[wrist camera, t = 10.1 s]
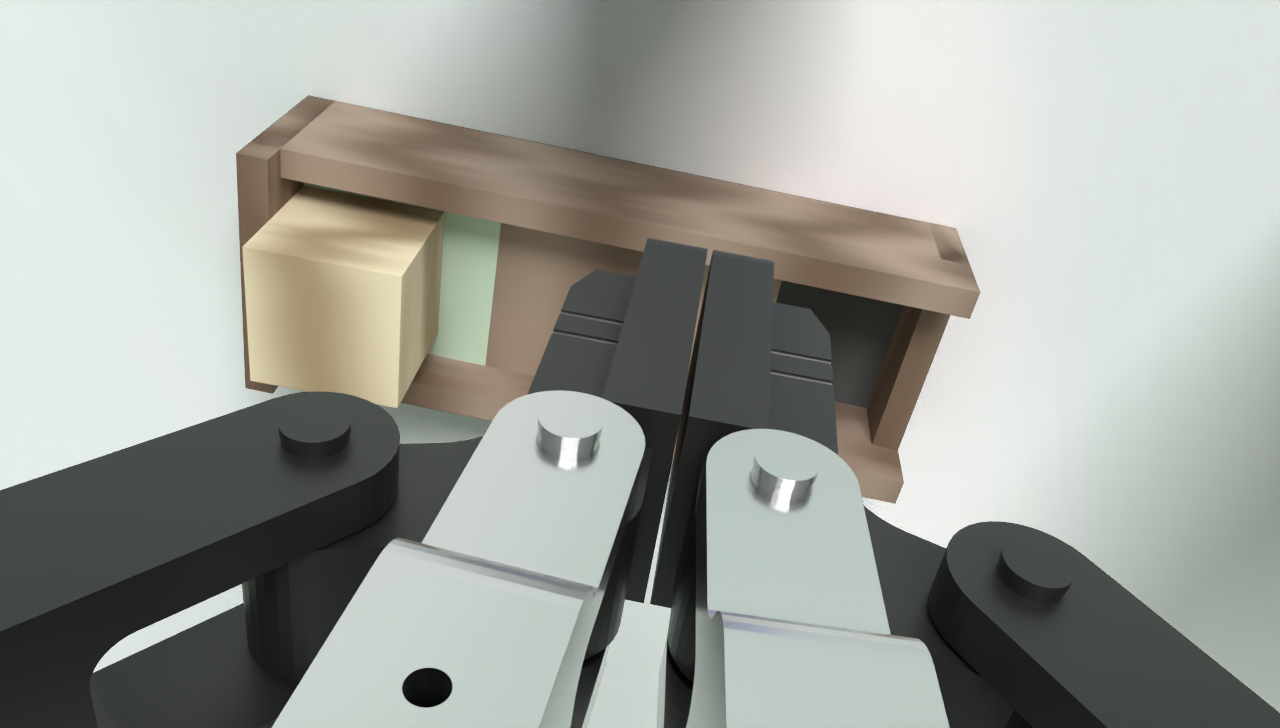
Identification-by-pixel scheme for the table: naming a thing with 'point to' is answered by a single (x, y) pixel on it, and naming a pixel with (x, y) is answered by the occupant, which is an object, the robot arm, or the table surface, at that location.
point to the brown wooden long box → (618, 257)
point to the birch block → (343, 294)
